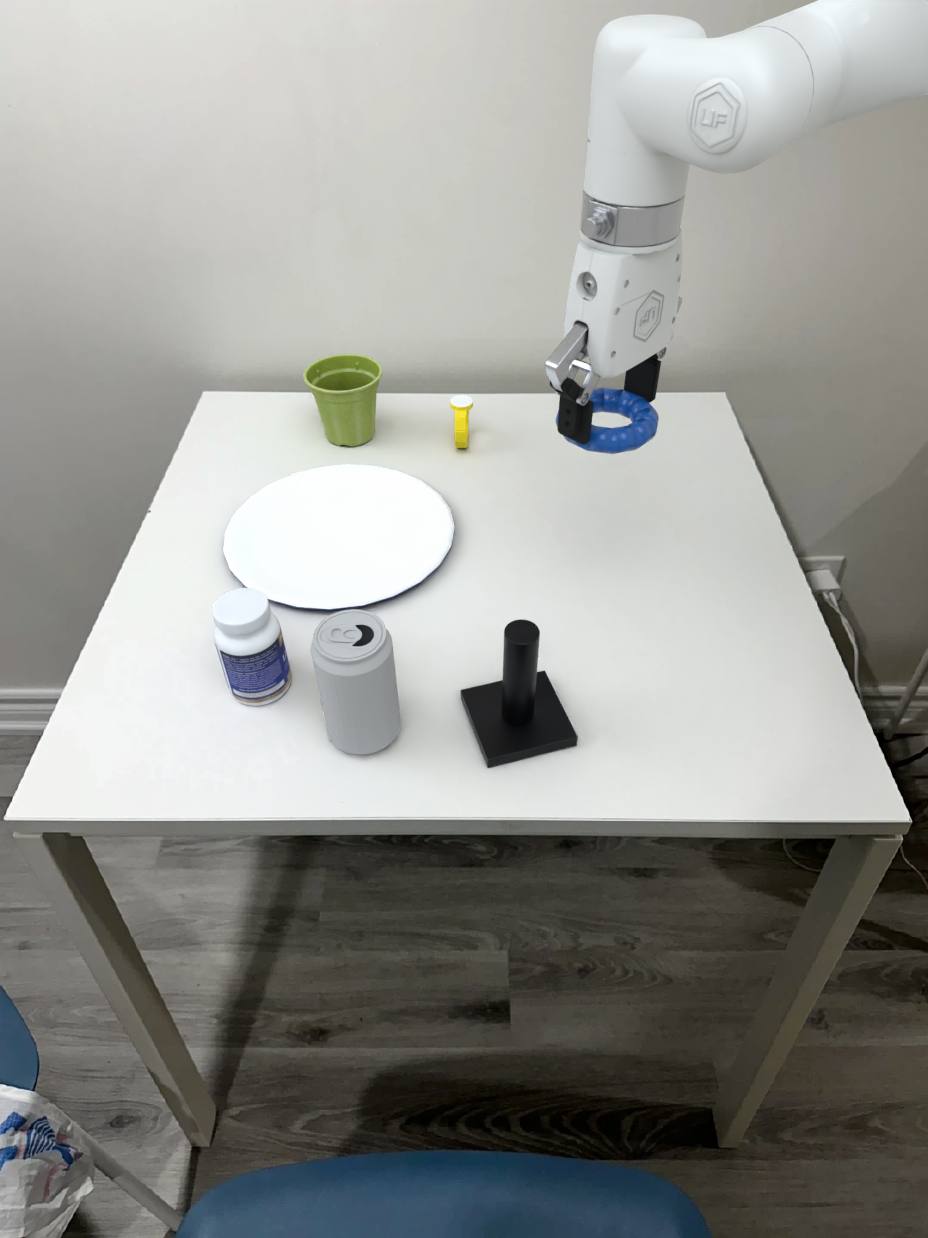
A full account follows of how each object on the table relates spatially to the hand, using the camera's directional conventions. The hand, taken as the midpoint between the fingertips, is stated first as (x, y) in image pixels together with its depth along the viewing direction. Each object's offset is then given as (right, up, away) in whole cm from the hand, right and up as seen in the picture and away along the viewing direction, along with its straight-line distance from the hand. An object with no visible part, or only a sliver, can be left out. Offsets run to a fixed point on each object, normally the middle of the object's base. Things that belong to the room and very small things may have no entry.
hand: (607, 416), depth 76 cm
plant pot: (-27, +5, +32) cm, 42 cm away
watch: (-13, +4, +30) cm, 33 cm away
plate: (-26, -9, +17) cm, 33 cm away
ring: (0, 0, 0) cm, 0 cm away
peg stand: (-8, -27, -2) cm, 28 cm away
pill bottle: (-31, -24, +2) cm, 40 cm away
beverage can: (-22, -28, -2) cm, 35 cm away
